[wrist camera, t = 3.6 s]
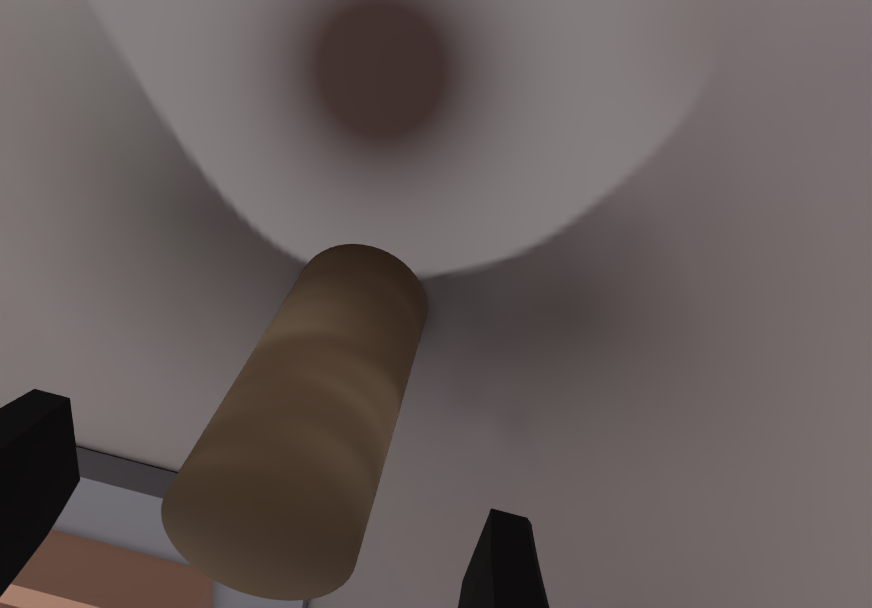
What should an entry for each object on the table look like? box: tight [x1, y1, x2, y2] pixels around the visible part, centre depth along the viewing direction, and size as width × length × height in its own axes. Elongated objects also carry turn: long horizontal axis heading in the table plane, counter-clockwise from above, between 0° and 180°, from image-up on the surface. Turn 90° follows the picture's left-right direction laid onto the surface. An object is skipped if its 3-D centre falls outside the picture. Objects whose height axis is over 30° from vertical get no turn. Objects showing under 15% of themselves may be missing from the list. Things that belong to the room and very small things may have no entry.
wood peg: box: [161, 244, 427, 601], centre depth 14 cm, size 3×3×7 cm
